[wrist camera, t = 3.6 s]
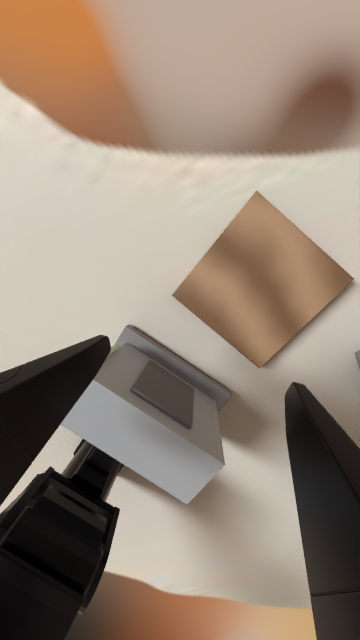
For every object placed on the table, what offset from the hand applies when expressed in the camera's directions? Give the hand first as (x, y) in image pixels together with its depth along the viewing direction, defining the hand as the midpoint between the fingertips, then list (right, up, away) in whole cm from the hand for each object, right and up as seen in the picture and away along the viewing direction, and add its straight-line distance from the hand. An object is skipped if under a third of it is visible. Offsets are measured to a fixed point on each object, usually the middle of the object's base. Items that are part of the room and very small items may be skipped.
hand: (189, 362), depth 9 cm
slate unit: (-3, -6, +13) cm, 15 cm away
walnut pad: (+7, +5, +10) cm, 14 cm away
